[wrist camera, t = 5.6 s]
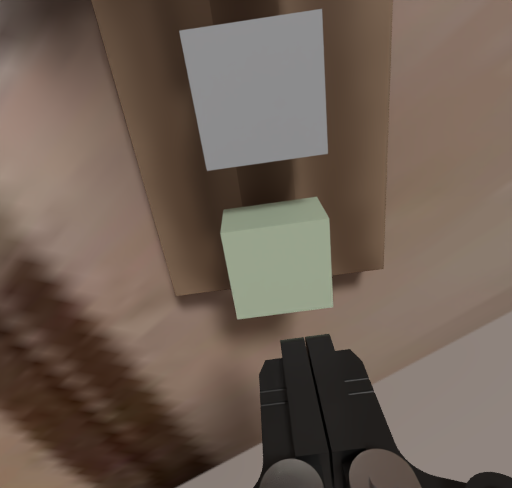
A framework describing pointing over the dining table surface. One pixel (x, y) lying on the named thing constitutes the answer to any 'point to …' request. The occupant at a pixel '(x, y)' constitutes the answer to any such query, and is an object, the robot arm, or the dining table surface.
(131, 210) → the dining table surface
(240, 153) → the grey squarish block
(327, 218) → the sage key
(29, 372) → the dining table surface
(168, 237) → the key panel
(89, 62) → the dining table surface
